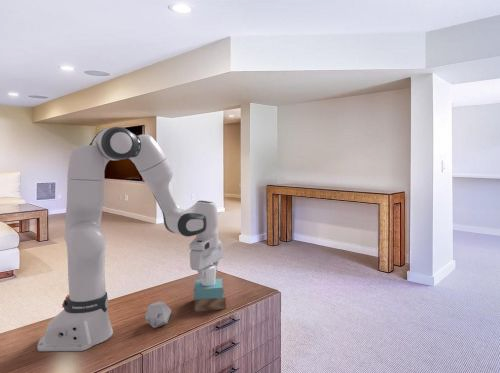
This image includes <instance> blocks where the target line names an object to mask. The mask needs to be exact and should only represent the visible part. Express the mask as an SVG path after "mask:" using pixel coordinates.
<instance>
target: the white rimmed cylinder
mask: <svg viewBox="0 0 500 373" xmlns="http://www.w3.org/2000/svg"><path fill="white" fill-rule="evenodd" d="M203 272H204V274H205V278H204V279H200V280H201V285H203V286H212V285H214V284H215V279H217V278H216V276H217V271H216V265H213V263H212V264H210V265H208V266H206V267H205V268H204V270H203Z"/></svg>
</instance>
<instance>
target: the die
mask: <svg viewBox="0 0 500 373" xmlns="http://www.w3.org/2000/svg"><path fill="white" fill-rule="evenodd" d="M171 313H172V309H171V308H170V307H169V306H168V305H167V304H166V303H165V302H164V301H163V300H161V301H157V302H154V303H151V304H149V305H148V306H147V310H146V313H145V316H144V319H145V320H146V321H147V323H148V324H149V325H150V326H151V327H152V328H153V329H156V328H159V327H161V326H165V325H167V324H168V323H169V320H170V316H171Z"/></svg>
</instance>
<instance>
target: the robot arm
mask: <svg viewBox="0 0 500 373" xmlns="http://www.w3.org/2000/svg"><path fill="white" fill-rule="evenodd" d="M126 159H128V160H130V161H131V162H132V163H133V164H134V166H135V167H136V170H137V171H138V173H139V175H140V176H141V178H142V179H143V181H144V183H145V184H146V185H147V187H148V188H149V190H150V191H151V192H152V195H153V196H154V199H155V200H156V202H157V204H158V206H159V208H160V210H161V213H162V218H163V225H164V227H165V228H166V230H167V231H168V232H170V233H173V234H177V235H180V236H183V237H187V238H188V237H189V238H190V237H193V236H195V237H194V239H193V240H192V241H191V242H190V243H189V245H188V246H189V247H188V248H189V249H188V250H190V251H189V265H190V268H191V270H192V271H197V273H198V276H199V280H201V279H204V278H205V274H204V272H203V270H204V268H205V267H206V266H208V265H210V264H212V265H216V272H217V271H218V265H219V260H221V259H223V258H224V246H223V242H222V240H221V237H220V236H219V230H218V224H219V216H218V209H217V205H216V203H214V202H213V201H207V200H198V201H196V202H195V203H194V204H193V205H192V206H190V207H189V208H187V209H185V210H184V209H183V208H181V207H180V206H178V204H177V202H176V200H175V199H174V196H173V194H172V192H171V190H170V188H169V187H170V186H169V185H170V183H171V181H172V179H173V177H174V171H173V169H172V166H171V163H170V161H169V159H168V158H167V156H166V154H165V152H164V151H163V149H162V148H161V146H160V145H159V144H158V142H157V141H156V140H155V138H154V137H153V136H151V135H150V134H139V135H137V134H135V133H134V132H131V131H130V130H128V129H127V128H125V127H122V126H111V127H107V128H104V129H103V130H102V129H101V130H100V131H99V132H97V134H96V135H94V137H93V139H92V140H91V142H90V143H89V145H88V144H84V145H79V146H77V147H75V148H73V150H71V153H70V157H69V160H68V161H69V162H68V168H67V177H66V178H67V179H66V180H67V182H66V183H67V184H66V186H67V188H66V189H67V190H66V206H65V208H66V210H65V221H64V240H65V243H66V244H65V245H66V251H67V253H66V255H67V283H68V294H67V295H66V296H65V297H64V298H65V299H64V300H63V303H62V305H61V308H63V310H62V311H60V312H59V313H58V314H57V315H56V316H54V317H53V318H52V319H51V320H50V321H49V323H47V326H46V329H45V334H44V335H43V336H42V337H41V338H39V340H38V343H37V347H36V348H37V351H38V352H82V351H86V350H88V349H90V348H92V347H93V346H96V345H98V344H101V343H103V342H105V341H107V340H108V339H110V338H111V337H112V336H113V334H114V330H113V327H112V324H111V321H110V317H109V312H108V311H109V310H108V309H109V297H108V292H107V290H106V274H105V273H106V272H105V271H106V270H105V266H106V265H105V264H106V237H105V234H104V232H103V230H102V227H101V226H102V224H101V223H102V214H103V207H104V203H105V202H104V200H105V197H104V196H105V170H106V166H107V164H108V163H109V162H110V161H121V160H126Z"/></svg>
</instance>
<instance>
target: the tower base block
mask: <svg viewBox="0 0 500 373" xmlns="http://www.w3.org/2000/svg"><path fill="white" fill-rule="evenodd" d="M226 301H227V299H226V294H225V290H224V289H223V298H212V299H197V300H194V302H193V303H194V312H195V313H196V312H205V311H215V310H225V309H227V304H226V303H227V302H226Z"/></svg>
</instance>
